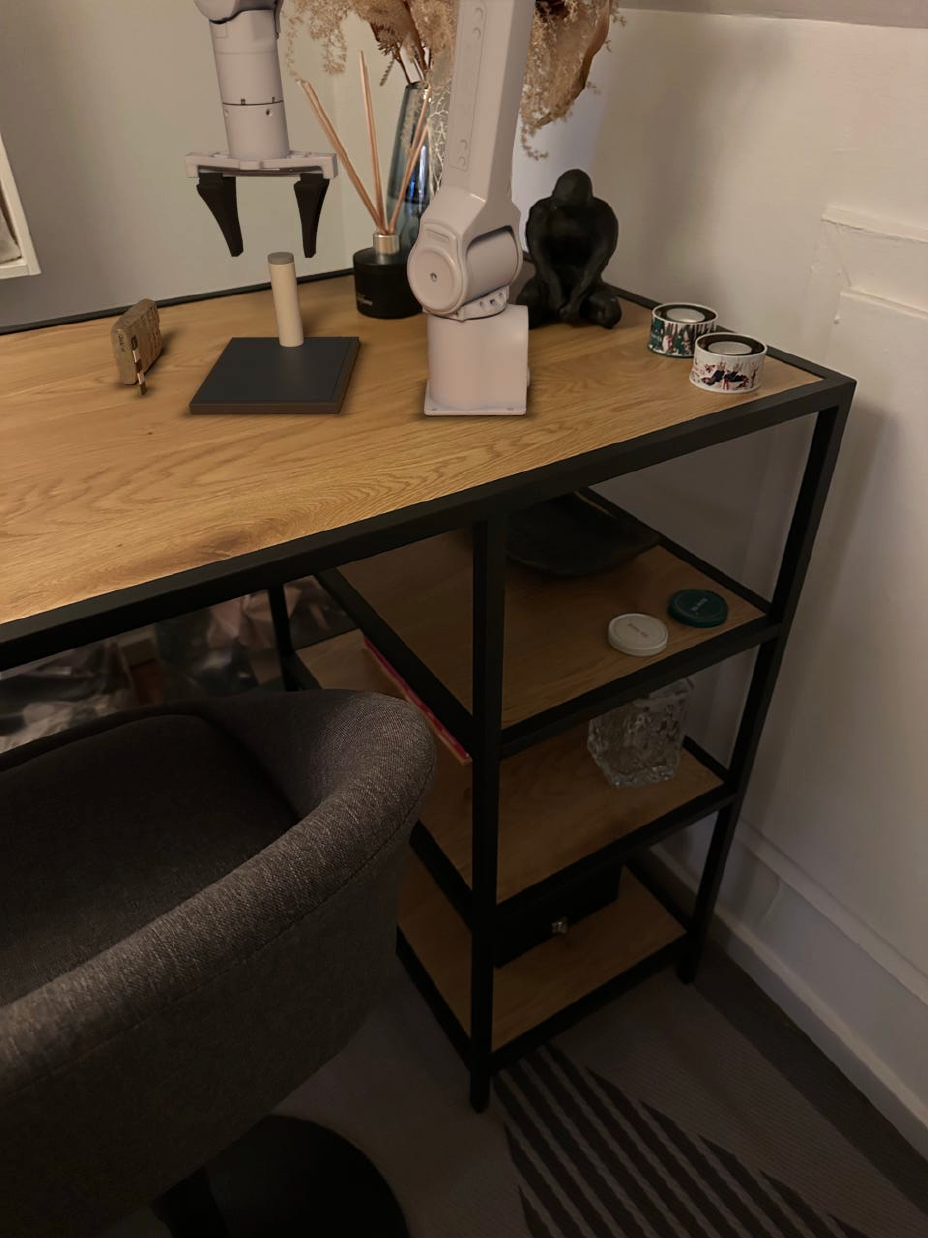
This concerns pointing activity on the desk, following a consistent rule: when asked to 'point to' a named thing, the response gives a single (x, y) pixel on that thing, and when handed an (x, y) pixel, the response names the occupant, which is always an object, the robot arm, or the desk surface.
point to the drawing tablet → (278, 377)
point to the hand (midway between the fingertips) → (273, 254)
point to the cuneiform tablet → (136, 341)
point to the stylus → (286, 298)
